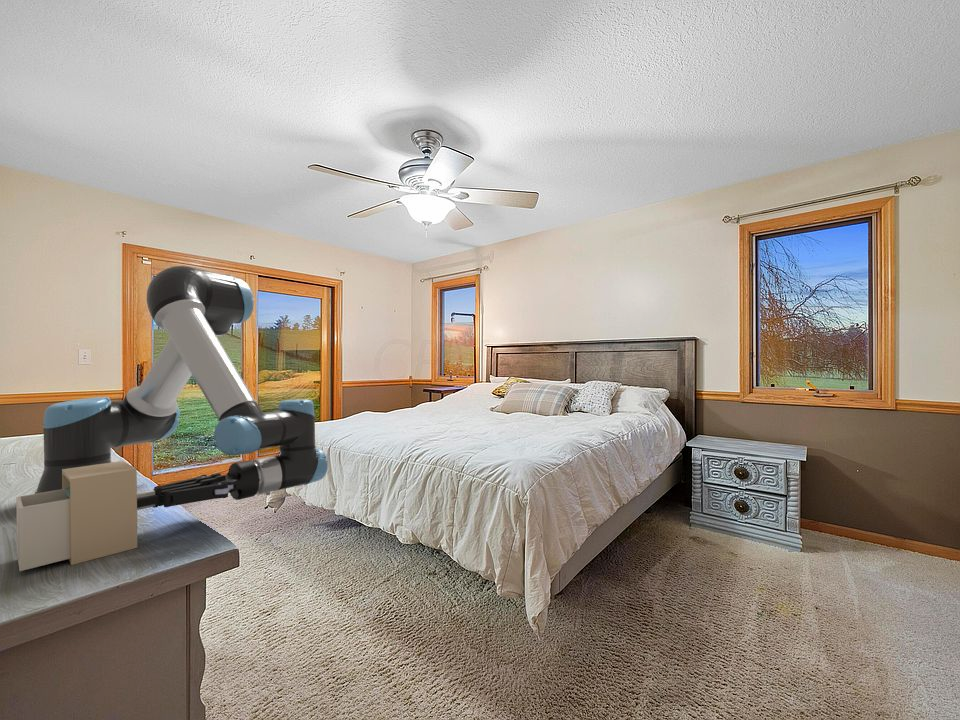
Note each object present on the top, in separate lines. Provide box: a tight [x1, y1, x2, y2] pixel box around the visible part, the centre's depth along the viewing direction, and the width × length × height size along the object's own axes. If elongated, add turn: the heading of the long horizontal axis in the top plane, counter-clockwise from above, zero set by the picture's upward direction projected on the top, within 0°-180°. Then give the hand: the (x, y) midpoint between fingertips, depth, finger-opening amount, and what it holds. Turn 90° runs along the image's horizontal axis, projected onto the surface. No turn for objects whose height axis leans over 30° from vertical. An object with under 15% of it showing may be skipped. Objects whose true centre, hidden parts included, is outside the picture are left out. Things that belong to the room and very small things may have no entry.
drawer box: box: [15, 488, 71, 572], centre depth 69 cm, size 10×9×9 cm
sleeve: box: [62, 460, 138, 566], centre depth 72 cm, size 8×11×13 cm
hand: (107, 507), depth 73 cm, fingers closed
